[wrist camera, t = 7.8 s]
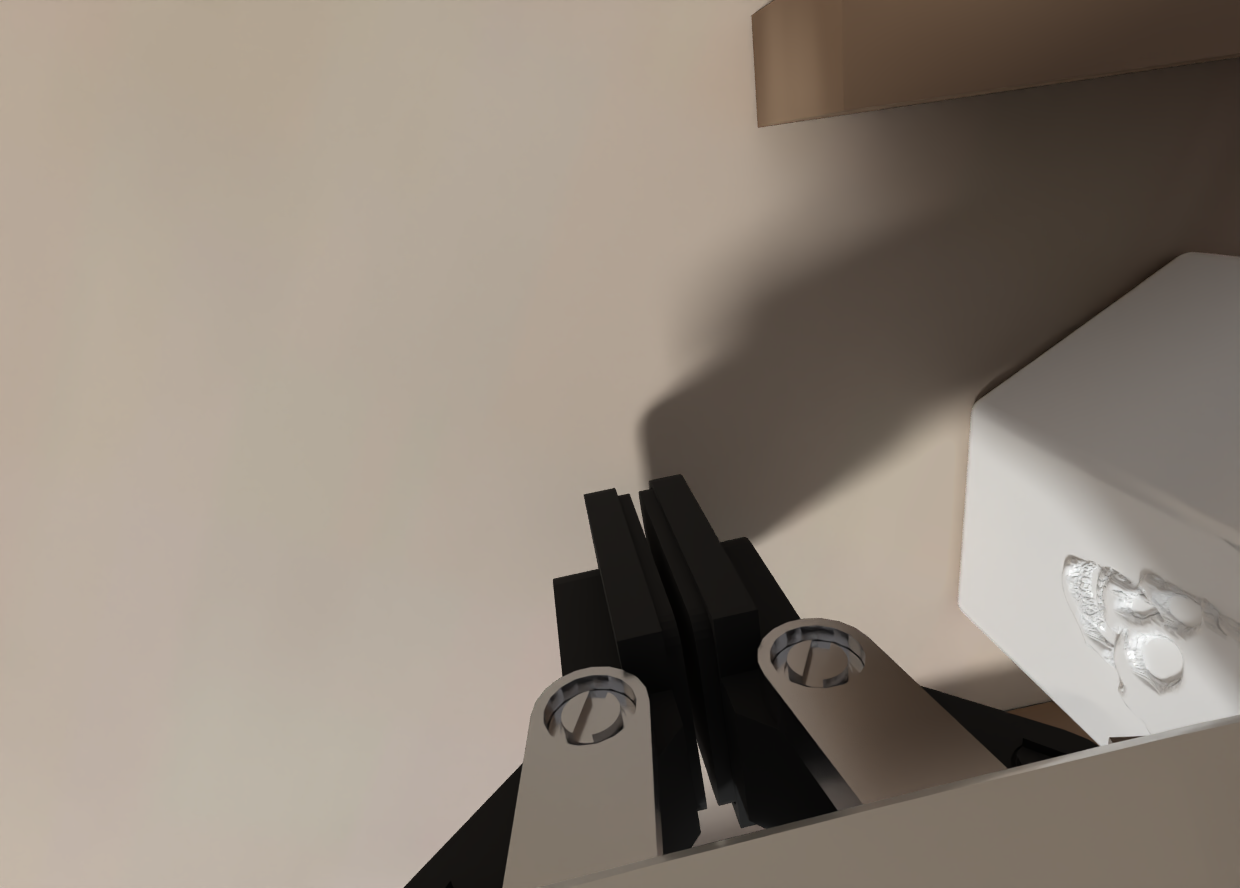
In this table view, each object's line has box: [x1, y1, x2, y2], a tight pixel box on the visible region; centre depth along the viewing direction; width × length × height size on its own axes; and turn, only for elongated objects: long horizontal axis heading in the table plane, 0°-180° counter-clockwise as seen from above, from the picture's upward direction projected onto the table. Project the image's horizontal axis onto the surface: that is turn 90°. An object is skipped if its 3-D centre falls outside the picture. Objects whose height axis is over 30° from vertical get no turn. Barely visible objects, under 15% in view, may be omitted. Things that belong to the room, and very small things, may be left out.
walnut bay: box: [752, 0, 1240, 746], centre depth 12 cm, size 16×14×3 cm
